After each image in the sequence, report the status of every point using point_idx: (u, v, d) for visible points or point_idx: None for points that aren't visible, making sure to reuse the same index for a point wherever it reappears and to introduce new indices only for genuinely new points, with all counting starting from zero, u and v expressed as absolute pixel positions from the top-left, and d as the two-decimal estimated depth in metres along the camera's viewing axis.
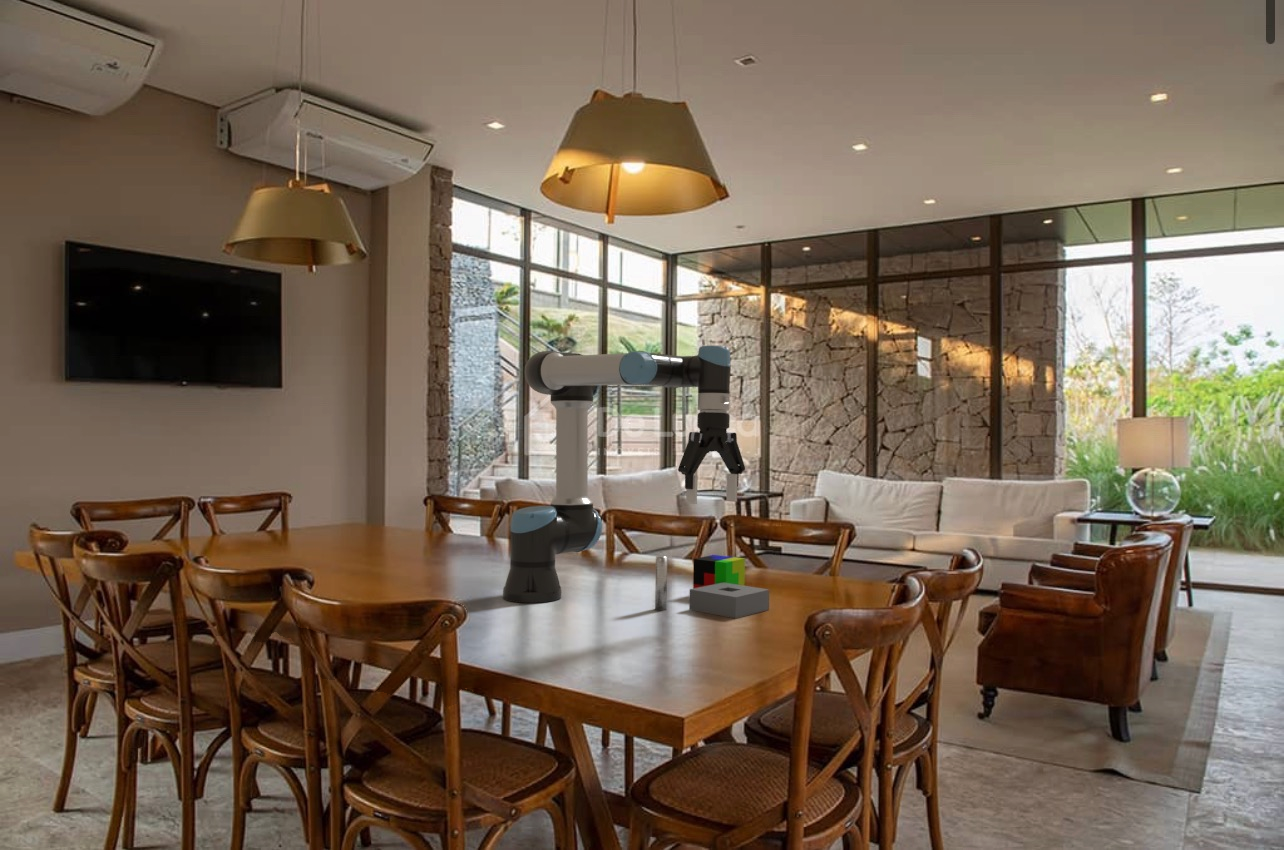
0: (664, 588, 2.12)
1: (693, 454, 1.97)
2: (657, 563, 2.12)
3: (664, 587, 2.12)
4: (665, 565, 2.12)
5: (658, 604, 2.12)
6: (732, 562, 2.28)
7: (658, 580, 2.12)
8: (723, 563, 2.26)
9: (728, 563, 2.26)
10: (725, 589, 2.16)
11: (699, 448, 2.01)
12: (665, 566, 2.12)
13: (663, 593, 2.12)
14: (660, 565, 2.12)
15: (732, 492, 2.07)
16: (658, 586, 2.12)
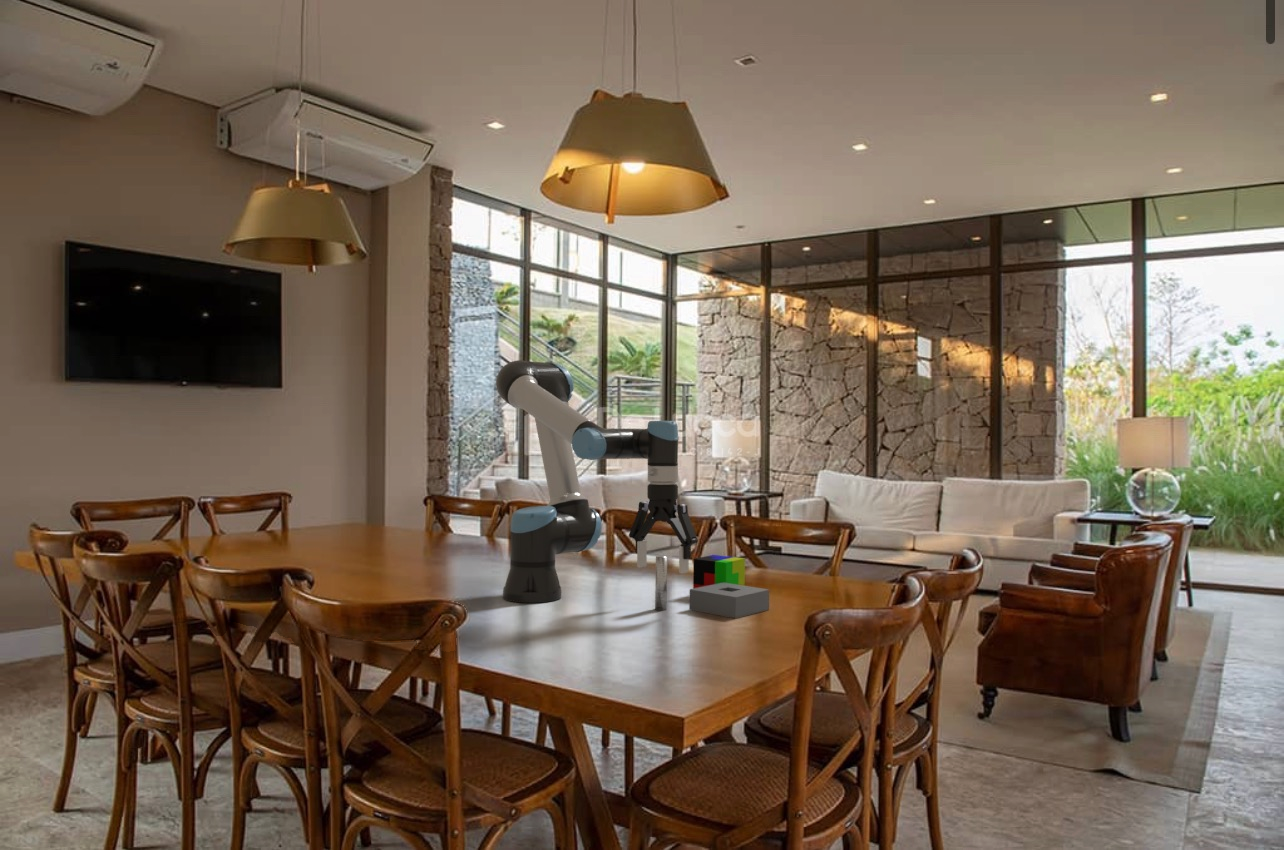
0: (664, 588, 2.12)
1: (636, 521, 2.17)
2: (657, 563, 2.12)
3: (664, 587, 2.12)
4: (665, 565, 2.12)
5: (658, 604, 2.12)
6: (732, 562, 2.28)
7: (658, 580, 2.12)
8: (723, 563, 2.26)
9: (728, 563, 2.26)
10: (725, 589, 2.16)
11: None
12: (665, 566, 2.12)
13: (663, 593, 2.12)
14: (660, 565, 2.12)
15: None
16: (658, 586, 2.12)
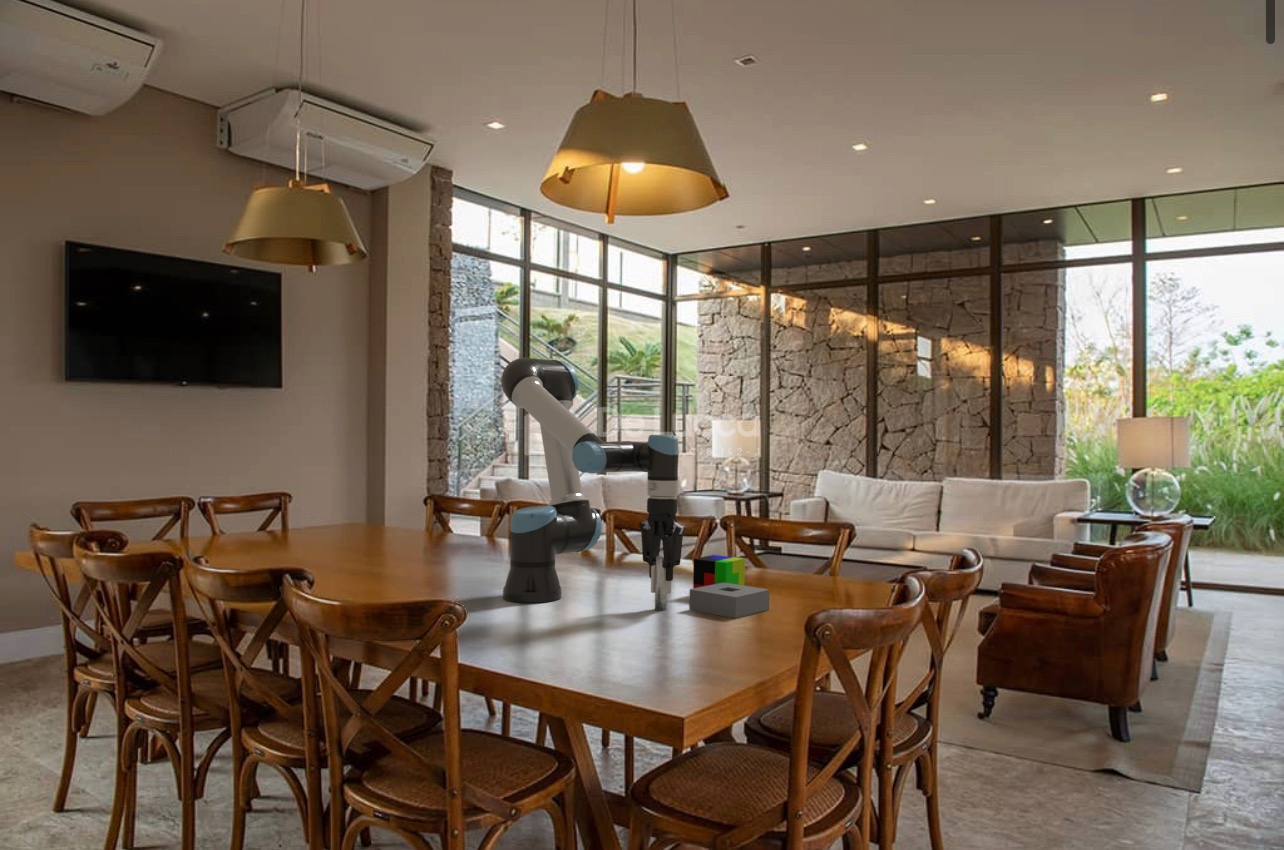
0: None
1: (643, 543, 2.15)
2: (657, 563, 2.12)
3: None
4: None
5: (657, 604, 2.12)
6: (732, 562, 2.28)
7: (658, 580, 2.12)
8: (723, 563, 2.26)
9: (728, 563, 2.26)
10: (725, 589, 2.16)
11: None
12: None
13: None
14: (659, 565, 2.12)
15: None
16: (658, 586, 2.12)
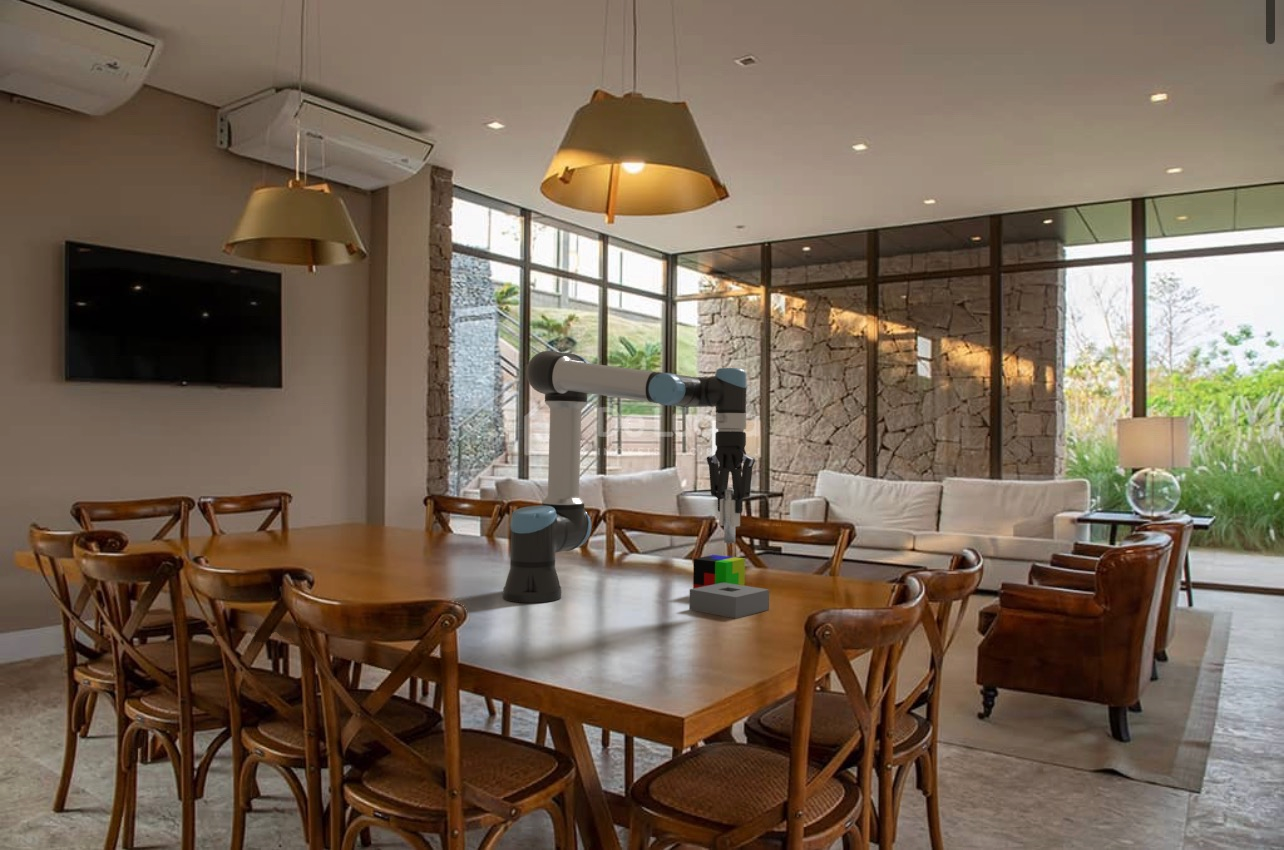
0: None
1: (711, 477, 2.16)
2: (726, 496, 2.13)
3: None
4: None
5: (727, 537, 2.13)
6: (732, 562, 2.28)
7: (727, 513, 2.13)
8: (723, 563, 2.26)
9: (728, 563, 2.26)
10: (725, 589, 2.16)
11: None
12: None
13: None
14: (729, 498, 2.13)
15: None
16: (727, 519, 2.13)
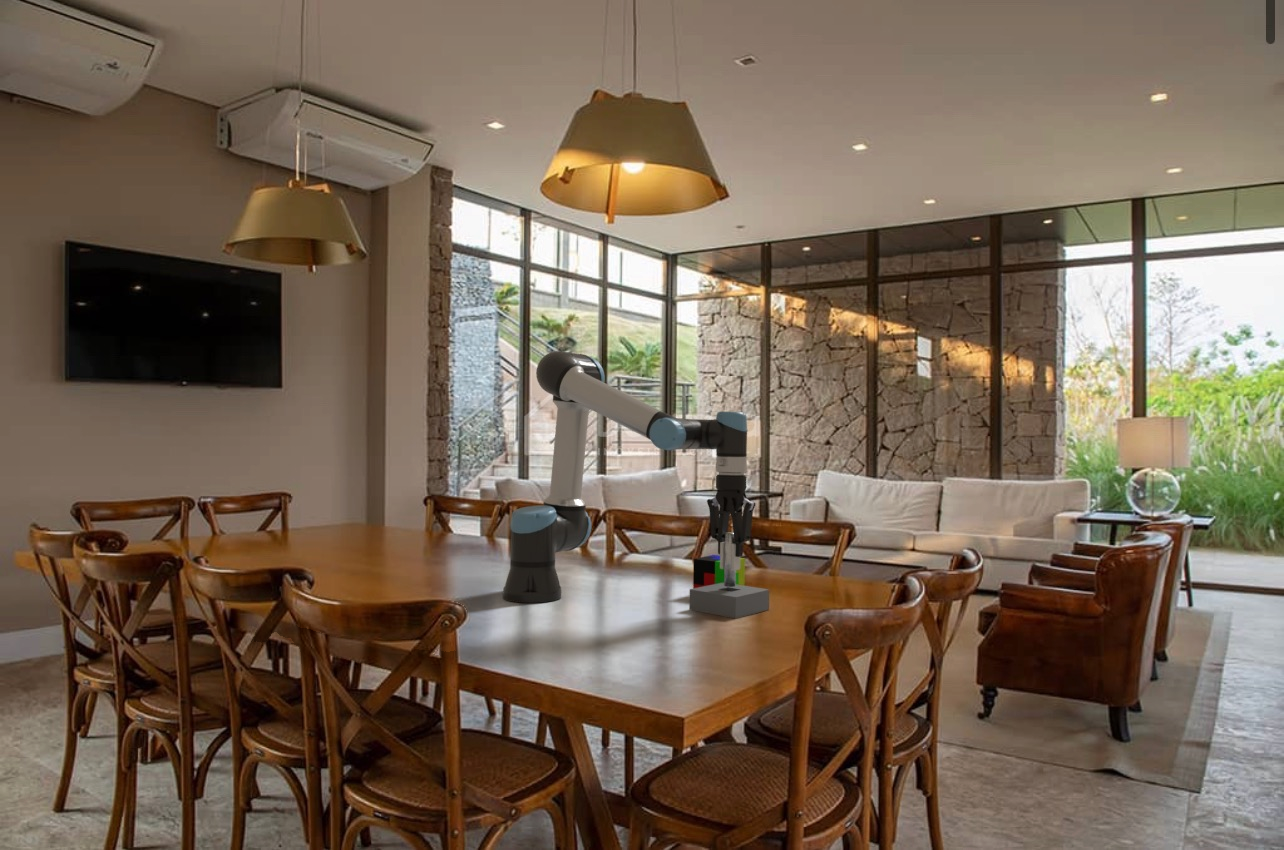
0: None
1: (712, 520, 2.16)
2: (726, 539, 2.13)
3: None
4: None
5: (727, 580, 2.13)
6: None
7: (728, 556, 2.13)
8: None
9: None
10: (725, 589, 2.16)
11: None
12: None
13: None
14: (729, 541, 2.13)
15: None
16: (728, 562, 2.13)
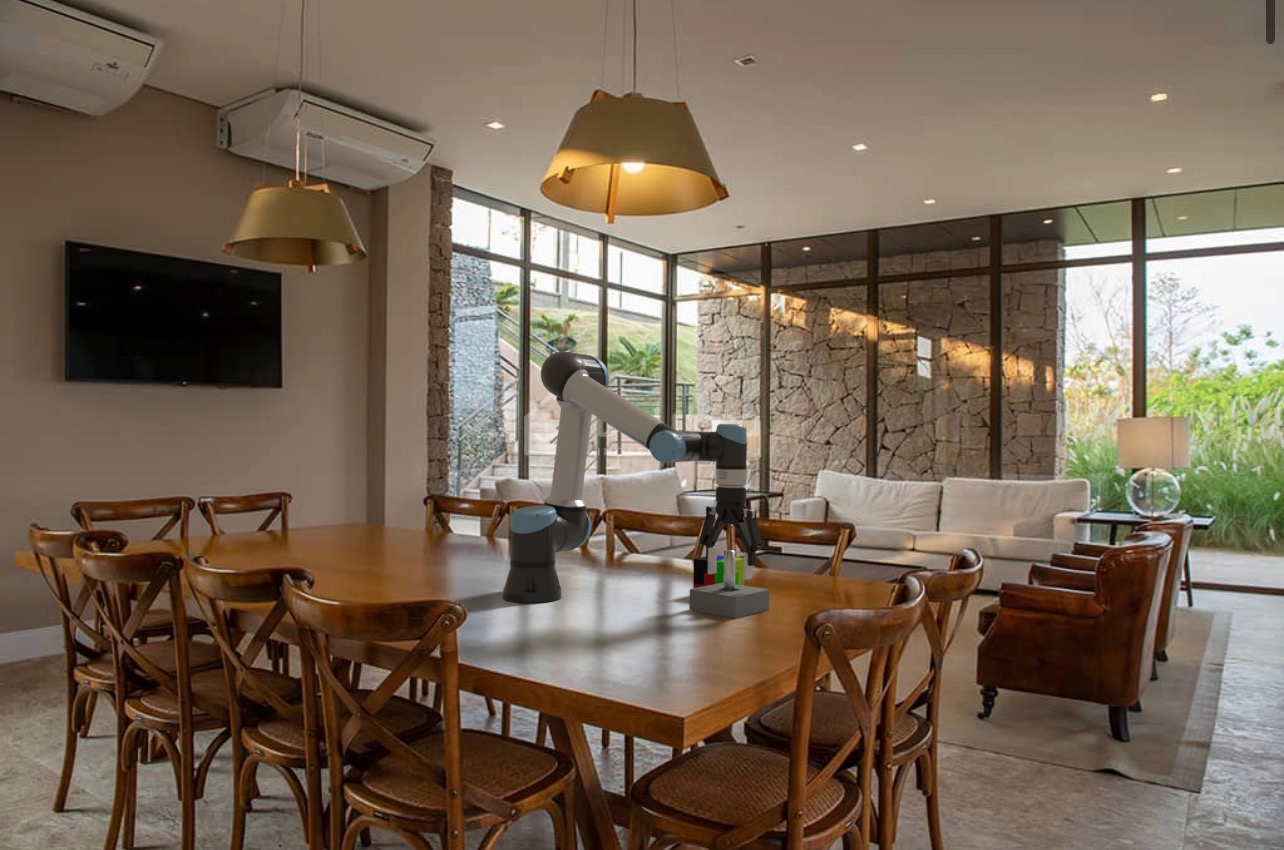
0: (733, 582, 2.13)
1: (705, 527, 2.18)
2: (725, 557, 2.13)
3: (733, 580, 2.13)
4: (733, 559, 2.13)
5: None
6: None
7: (727, 574, 2.13)
8: (723, 563, 2.26)
9: None
10: None
11: None
12: (733, 560, 2.13)
13: (732, 587, 2.13)
14: (728, 559, 2.13)
15: None
16: (727, 580, 2.13)
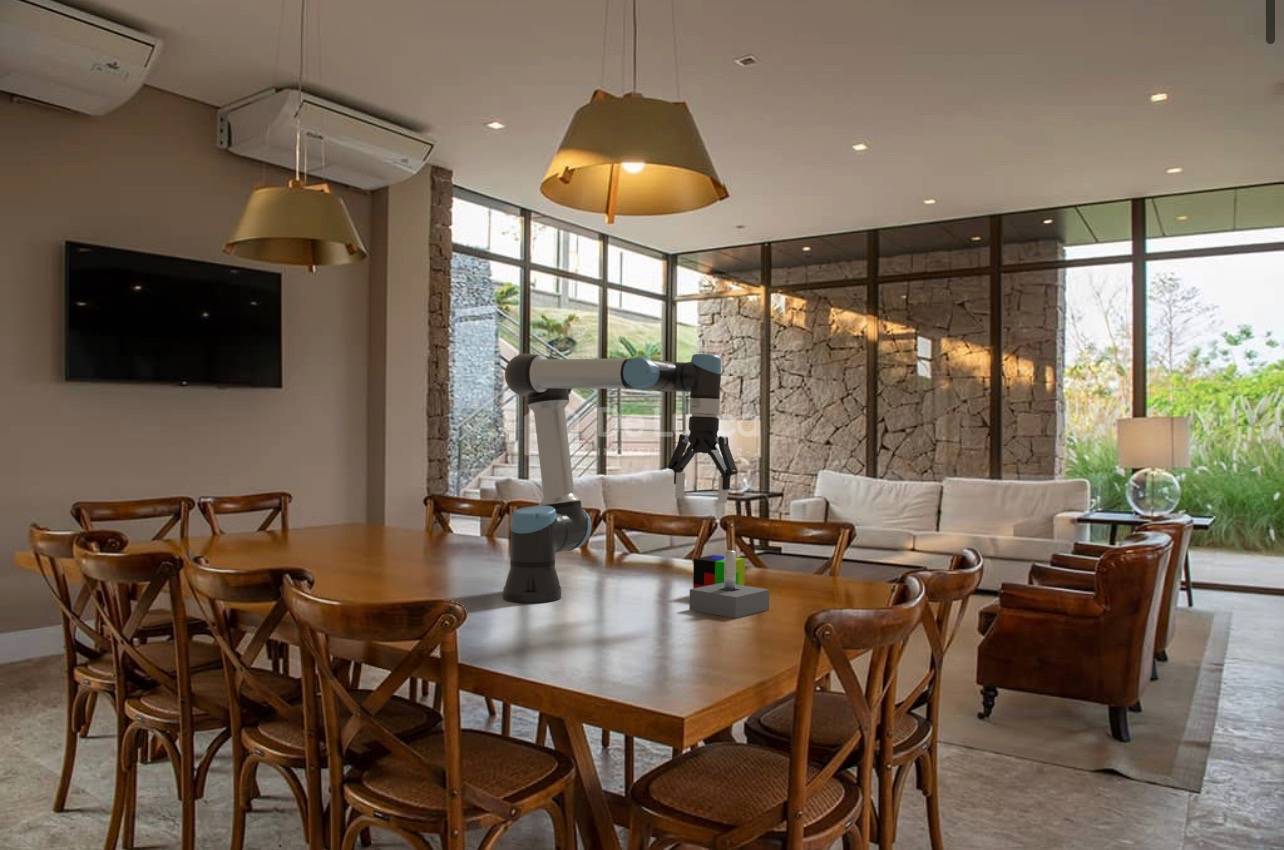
0: (733, 582, 2.13)
1: (675, 453, 2.21)
2: (726, 557, 2.13)
3: (733, 581, 2.13)
4: (734, 559, 2.13)
5: None
6: None
7: (727, 574, 2.13)
8: (723, 563, 2.26)
9: None
10: None
11: None
12: (734, 560, 2.13)
13: (732, 588, 2.13)
14: (729, 559, 2.13)
15: None
16: (727, 580, 2.13)
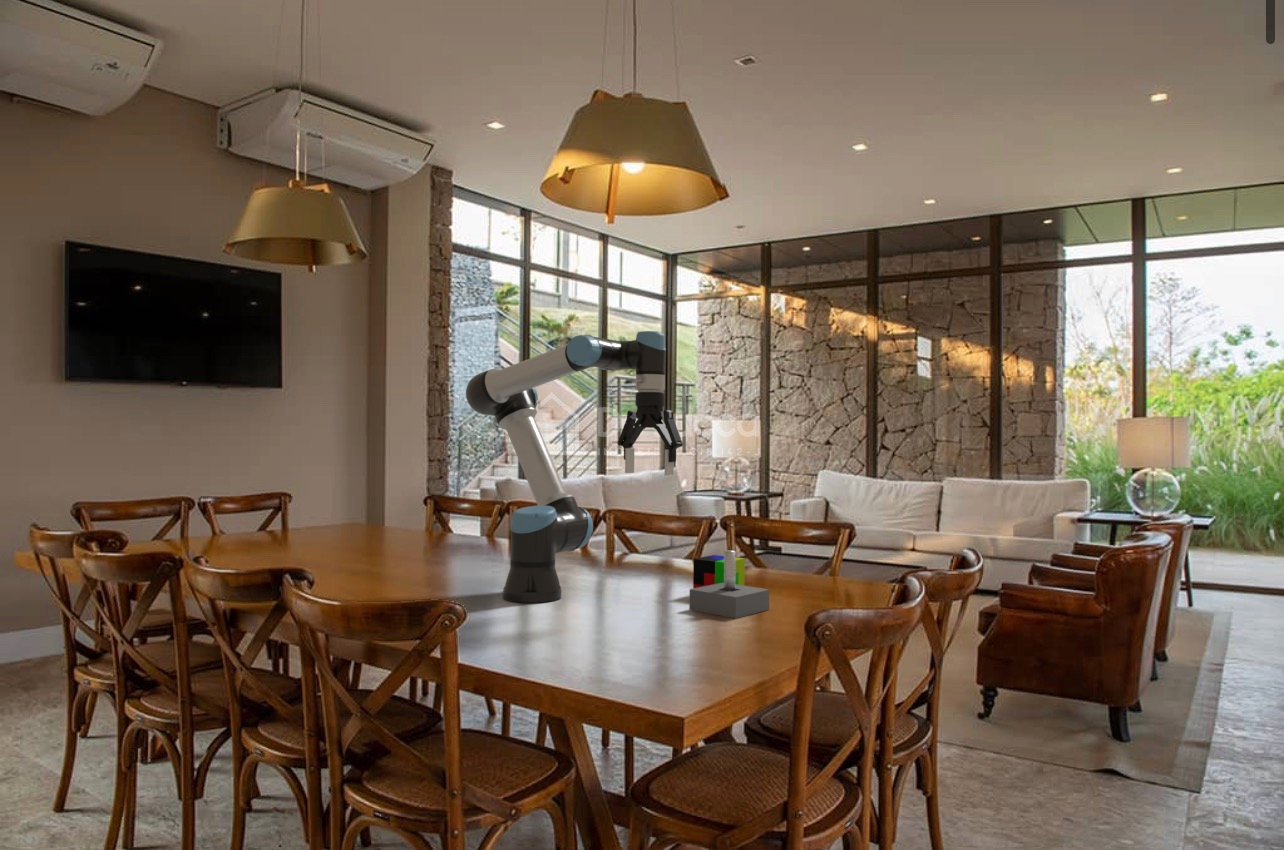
0: (733, 582, 2.13)
1: (624, 429, 2.27)
2: (726, 557, 2.13)
3: (733, 581, 2.13)
4: (734, 559, 2.13)
5: None
6: None
7: (727, 574, 2.13)
8: (723, 563, 2.26)
9: None
10: None
11: None
12: (734, 560, 2.13)
13: (732, 588, 2.13)
14: (728, 559, 2.13)
15: None
16: (727, 580, 2.13)
